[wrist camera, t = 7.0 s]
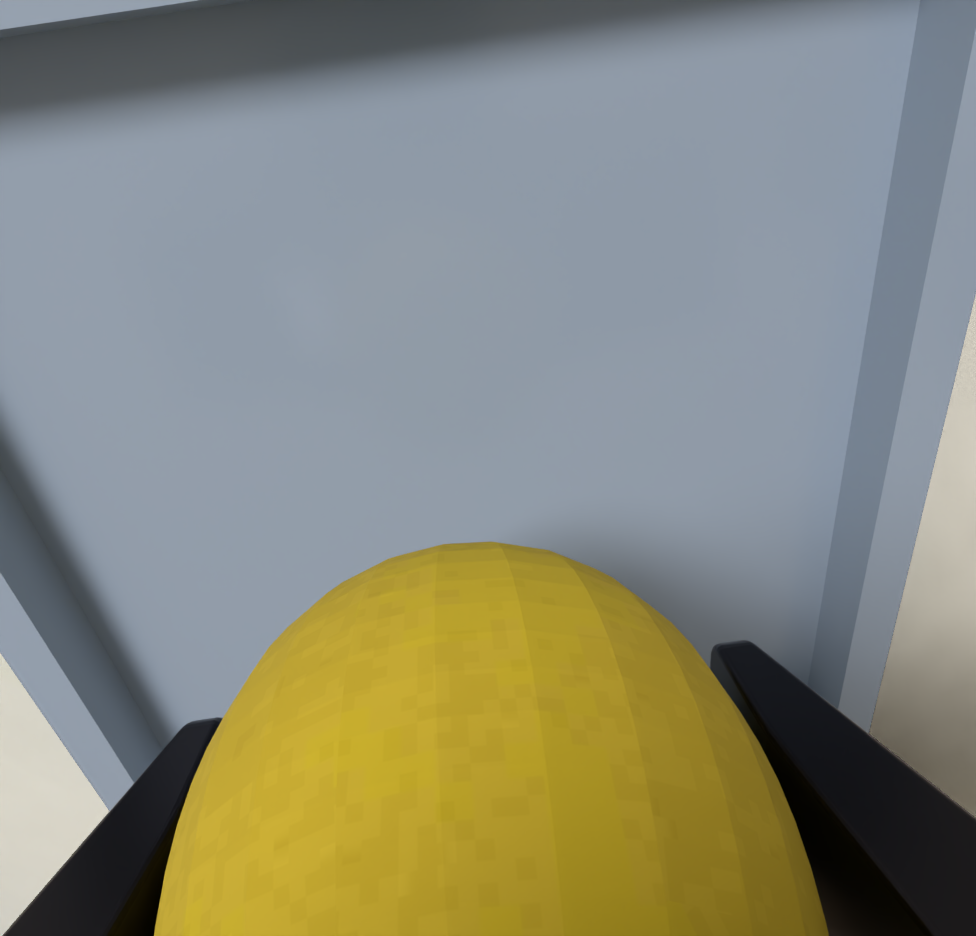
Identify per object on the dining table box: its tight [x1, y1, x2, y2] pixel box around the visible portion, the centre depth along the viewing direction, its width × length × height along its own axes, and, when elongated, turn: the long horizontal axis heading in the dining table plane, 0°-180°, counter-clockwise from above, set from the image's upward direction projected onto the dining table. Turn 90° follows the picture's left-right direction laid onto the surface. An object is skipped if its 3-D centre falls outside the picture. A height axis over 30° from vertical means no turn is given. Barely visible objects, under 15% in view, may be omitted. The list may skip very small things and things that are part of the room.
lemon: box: [154, 541, 829, 936], centre depth 7 cm, size 6×6×8 cm
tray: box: [0, 0, 976, 811], centre depth 12 cm, size 16×16×2 cm
